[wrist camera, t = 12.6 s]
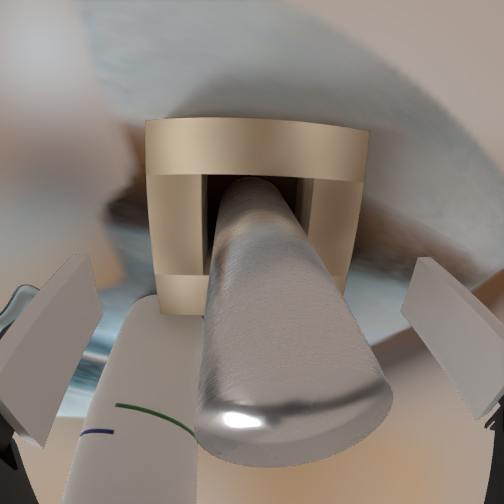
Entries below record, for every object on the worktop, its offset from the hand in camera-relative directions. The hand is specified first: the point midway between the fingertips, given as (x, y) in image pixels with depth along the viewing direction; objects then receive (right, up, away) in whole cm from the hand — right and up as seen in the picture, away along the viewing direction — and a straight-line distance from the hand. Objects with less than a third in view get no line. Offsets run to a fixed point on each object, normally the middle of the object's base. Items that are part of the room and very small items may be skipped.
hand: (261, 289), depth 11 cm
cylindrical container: (-8, -5, +13) cm, 16 cm away
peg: (0, +4, +9) cm, 10 cm away
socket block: (0, +4, +9) cm, 10 cm away
